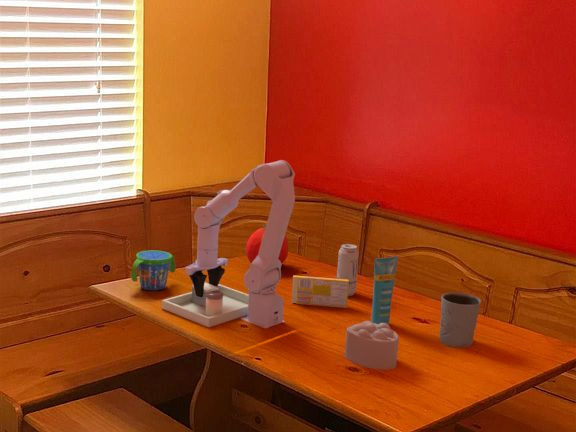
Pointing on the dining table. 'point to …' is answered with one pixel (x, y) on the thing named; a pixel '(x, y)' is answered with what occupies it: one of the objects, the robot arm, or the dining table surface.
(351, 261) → the energy drink can
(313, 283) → the candy box
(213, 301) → the jar
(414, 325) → the dining table surface
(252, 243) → the tomato
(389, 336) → the lumpy-topped squat cylinder
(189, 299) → the white square tray
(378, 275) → the tube
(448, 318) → the grey tapered cup
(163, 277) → the snack cup
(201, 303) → the pale pink block
